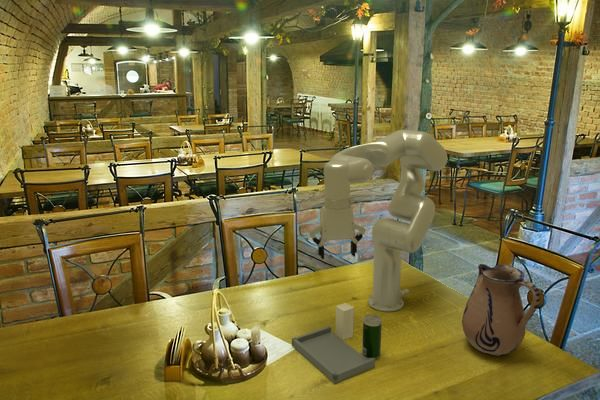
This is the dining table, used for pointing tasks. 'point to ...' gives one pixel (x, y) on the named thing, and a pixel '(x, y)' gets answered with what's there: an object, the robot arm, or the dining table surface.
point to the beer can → (371, 336)
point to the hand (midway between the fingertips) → (337, 256)
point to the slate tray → (331, 354)
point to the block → (344, 321)
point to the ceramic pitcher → (498, 310)
